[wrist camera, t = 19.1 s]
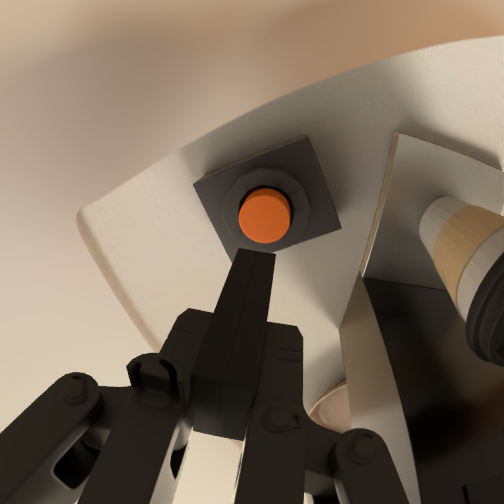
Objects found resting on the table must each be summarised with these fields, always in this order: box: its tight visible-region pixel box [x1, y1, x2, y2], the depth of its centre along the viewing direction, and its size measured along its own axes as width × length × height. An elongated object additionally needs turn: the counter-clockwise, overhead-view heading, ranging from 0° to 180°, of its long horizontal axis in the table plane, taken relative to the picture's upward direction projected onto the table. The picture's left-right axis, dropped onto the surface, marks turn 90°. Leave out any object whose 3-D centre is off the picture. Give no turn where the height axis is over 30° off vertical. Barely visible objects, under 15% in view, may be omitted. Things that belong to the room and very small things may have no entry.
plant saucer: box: [308, 380, 352, 434], centre depth 37 cm, size 21×21×3 cm
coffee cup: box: [419, 196, 504, 367], centre depth 18 cm, size 9×9×15 cm
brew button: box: [239, 188, 290, 243], centre depth 22 cm, size 4×4×2 cm
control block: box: [193, 135, 341, 263], centre depth 25 cm, size 10×8×5 cm
